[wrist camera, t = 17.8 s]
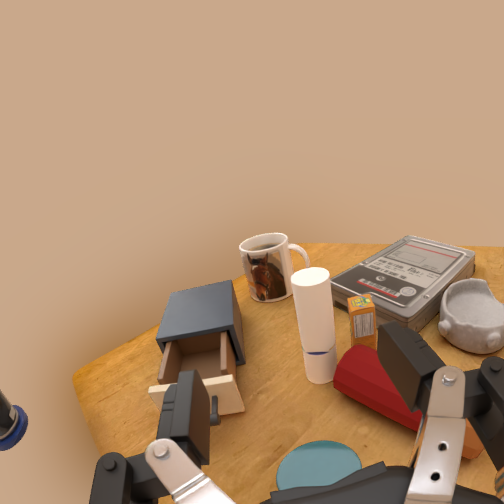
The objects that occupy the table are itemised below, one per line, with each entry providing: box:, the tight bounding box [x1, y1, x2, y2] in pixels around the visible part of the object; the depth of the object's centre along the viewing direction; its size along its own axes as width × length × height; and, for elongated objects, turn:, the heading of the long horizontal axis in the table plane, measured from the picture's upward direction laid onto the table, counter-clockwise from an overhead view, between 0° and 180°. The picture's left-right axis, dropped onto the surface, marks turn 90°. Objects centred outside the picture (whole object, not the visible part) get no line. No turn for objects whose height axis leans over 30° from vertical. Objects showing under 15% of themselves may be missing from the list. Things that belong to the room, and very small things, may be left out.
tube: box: [291, 267, 337, 384], centre depth 34 cm, size 4×4×15 cm
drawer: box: [148, 330, 245, 426], centre depth 36 cm, size 18×10×6 cm, turn 5°
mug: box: [239, 233, 310, 302], centre depth 59 cm, size 10×12×11 cm
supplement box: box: [347, 293, 376, 350], centre depth 35 cm, size 3×3×10 cm
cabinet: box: [156, 280, 246, 366], centre depth 48 cm, size 15×12×8 cm
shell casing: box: [333, 344, 484, 459], centre depth 24 cm, size 7×20×7 cm, turn 35°
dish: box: [438, 278, 504, 354], centre depth 33 cm, size 14×14×5 cm
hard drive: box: [330, 236, 475, 333], centre depth 49 cm, size 18×27×4 cm
